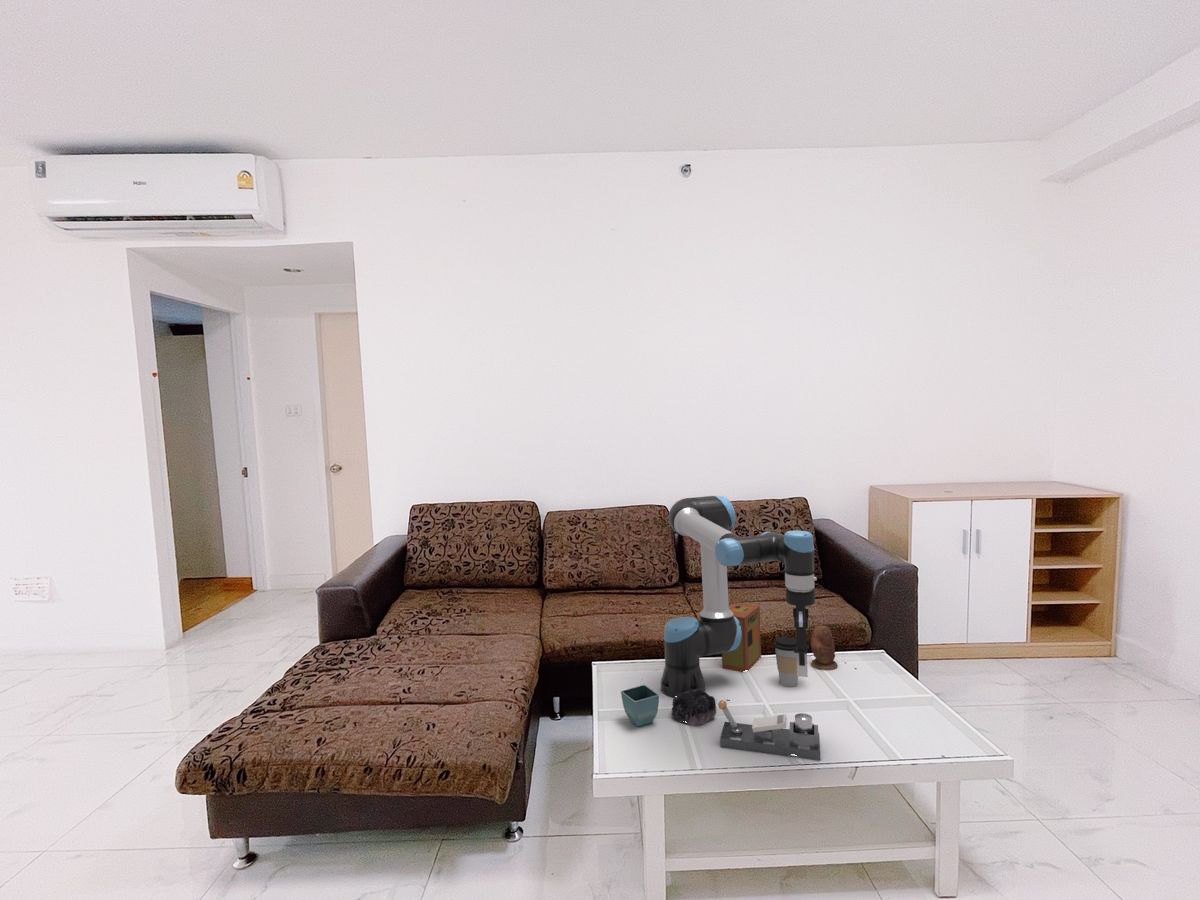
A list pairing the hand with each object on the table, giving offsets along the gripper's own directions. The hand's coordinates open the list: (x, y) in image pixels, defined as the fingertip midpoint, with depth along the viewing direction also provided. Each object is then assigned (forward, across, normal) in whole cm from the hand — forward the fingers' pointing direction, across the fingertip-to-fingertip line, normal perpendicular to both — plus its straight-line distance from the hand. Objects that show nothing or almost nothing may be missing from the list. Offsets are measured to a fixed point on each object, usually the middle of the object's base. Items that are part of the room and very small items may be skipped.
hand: (802, 674), depth 163 cm
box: (+21, +58, +22) cm, 65 cm away
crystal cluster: (+21, +11, +32) cm, 40 cm away
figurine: (+21, +62, -7) cm, 65 cm away
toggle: (+17, 0, +18) cm, 25 cm away
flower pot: (+21, +4, +47) cm, 51 cm away
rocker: (+15, 0, +9) cm, 17 cm away
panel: (+20, 0, +9) cm, 22 cm away
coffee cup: (+21, +42, +5) cm, 48 cm away
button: (+16, 0, 0) cm, 16 cm away
